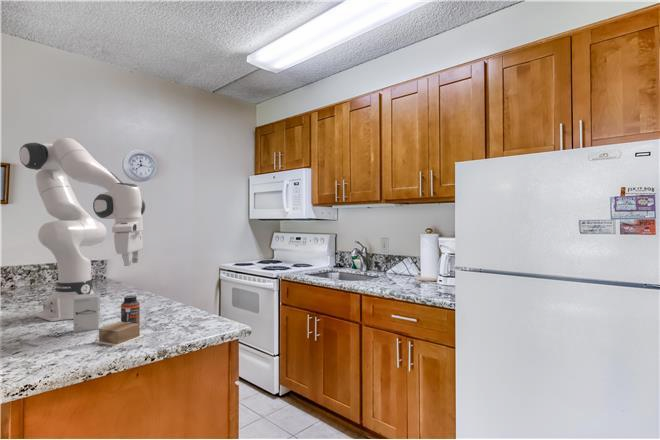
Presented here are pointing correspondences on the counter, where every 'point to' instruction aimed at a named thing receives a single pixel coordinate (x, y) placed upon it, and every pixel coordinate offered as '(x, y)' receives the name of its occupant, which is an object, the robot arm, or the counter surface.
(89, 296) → the supplement box
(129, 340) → the build board
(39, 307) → the counter surface
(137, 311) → the supplement bottle
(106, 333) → the block
